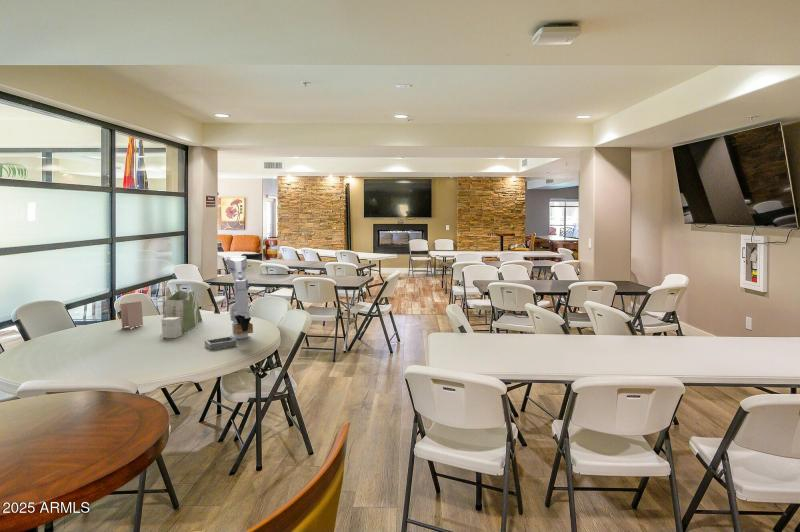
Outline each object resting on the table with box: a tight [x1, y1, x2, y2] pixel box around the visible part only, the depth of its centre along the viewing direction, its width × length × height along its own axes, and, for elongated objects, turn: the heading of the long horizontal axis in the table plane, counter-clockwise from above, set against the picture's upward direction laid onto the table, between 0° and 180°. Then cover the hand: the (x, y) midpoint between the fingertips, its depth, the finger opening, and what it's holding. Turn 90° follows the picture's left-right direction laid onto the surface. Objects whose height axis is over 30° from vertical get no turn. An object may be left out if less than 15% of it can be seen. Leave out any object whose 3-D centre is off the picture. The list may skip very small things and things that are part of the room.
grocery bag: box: [162, 288, 203, 334], centre depth 292 cm, size 32×14×23 cm, turn 7°
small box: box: [160, 317, 183, 339], centre depth 268 cm, size 8×6×10 cm
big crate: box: [204, 335, 238, 351], centre depth 248 cm, size 10×13×3 cm
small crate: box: [232, 322, 254, 335], centre depth 245 cm, size 5×8×4 cm, turn 126°
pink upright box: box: [120, 300, 144, 329], centre depth 292 cm, size 11×7×15 cm, turn 133°
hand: (243, 330), depth 246 cm, fingers closed on small crate, 5 cm apart
